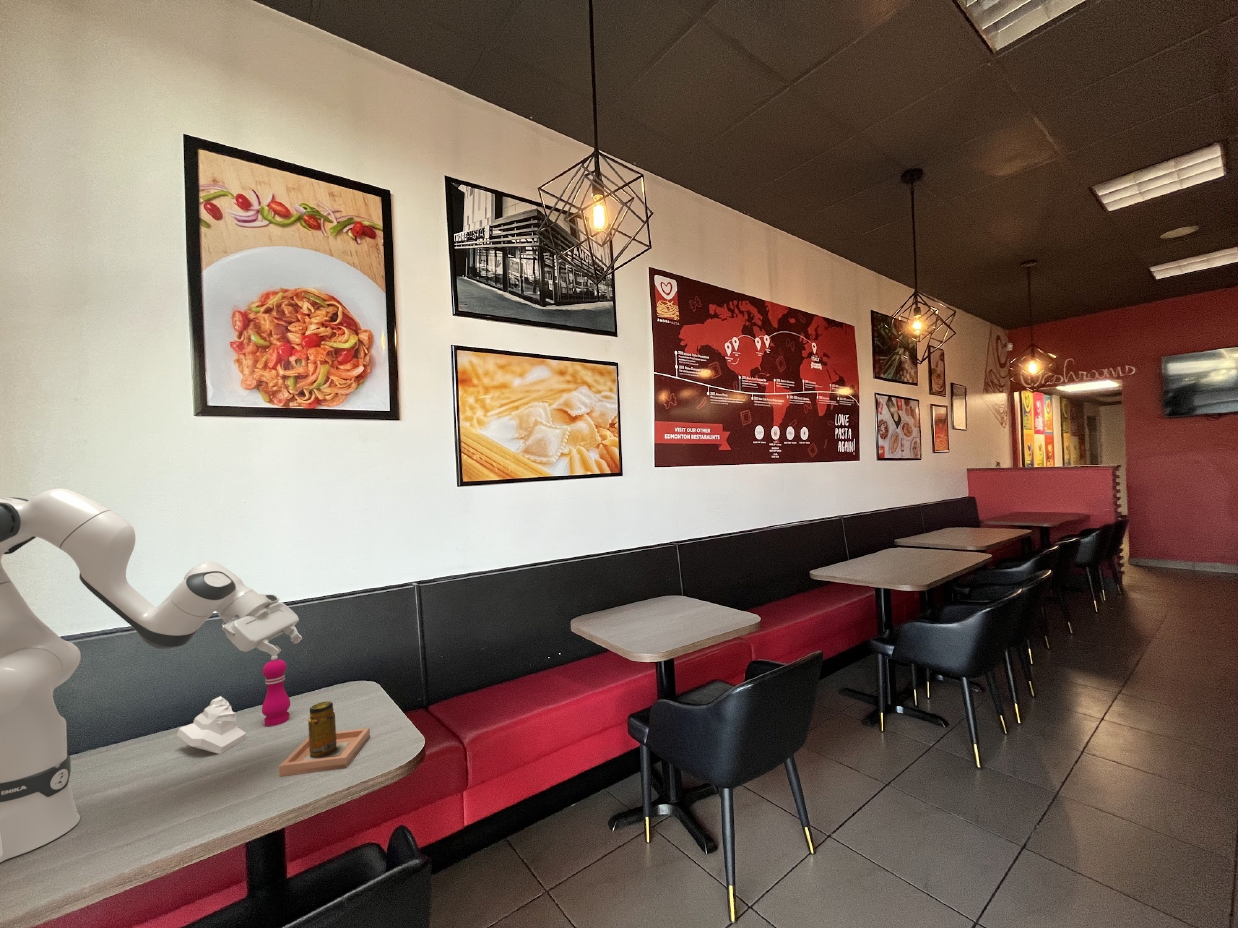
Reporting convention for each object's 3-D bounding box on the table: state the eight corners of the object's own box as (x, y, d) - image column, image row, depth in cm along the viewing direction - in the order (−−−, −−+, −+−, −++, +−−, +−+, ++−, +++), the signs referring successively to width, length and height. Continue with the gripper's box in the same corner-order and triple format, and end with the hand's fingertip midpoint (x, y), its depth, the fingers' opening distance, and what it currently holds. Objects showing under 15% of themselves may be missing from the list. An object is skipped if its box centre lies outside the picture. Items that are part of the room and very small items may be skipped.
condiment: (315, 747, 133) (313, 701, 134) (349, 742, 135) (347, 696, 135) (302, 761, 126) (300, 713, 127) (338, 756, 128) (336, 708, 128)
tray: (279, 776, 122) (279, 765, 122) (310, 743, 137) (310, 734, 137) (346, 767, 124) (345, 757, 124) (369, 736, 139) (369, 727, 139)
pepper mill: (296, 715, 156) (293, 650, 157) (278, 726, 149) (275, 658, 150) (275, 716, 157) (272, 651, 158) (256, 727, 150) (253, 659, 151)
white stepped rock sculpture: (227, 736, 149) (241, 685, 152) (246, 753, 140) (261, 699, 143) (174, 744, 139) (190, 690, 142) (191, 763, 130) (208, 705, 133)
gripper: (227, 613, 118) (272, 651, 118) (279, 593, 138) (318, 625, 139) (207, 633, 117) (253, 672, 118) (263, 610, 138) (302, 643, 138)
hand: (288, 646), depth 128 cm, fingers open, 8 cm apart
